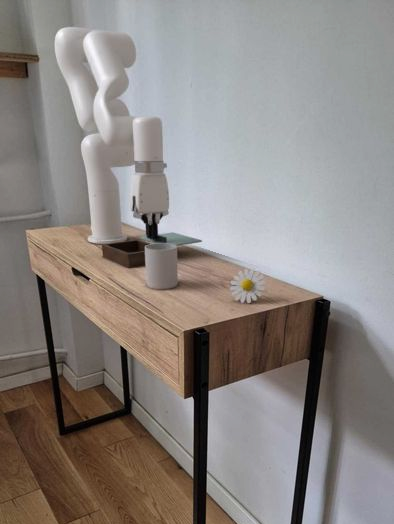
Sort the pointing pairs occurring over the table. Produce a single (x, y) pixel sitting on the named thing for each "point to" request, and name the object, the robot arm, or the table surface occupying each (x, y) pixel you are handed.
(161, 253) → the cup
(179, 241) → the glass top
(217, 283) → the table surface
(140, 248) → the case
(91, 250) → the table surface
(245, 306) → the table surface
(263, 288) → the decorative flower
